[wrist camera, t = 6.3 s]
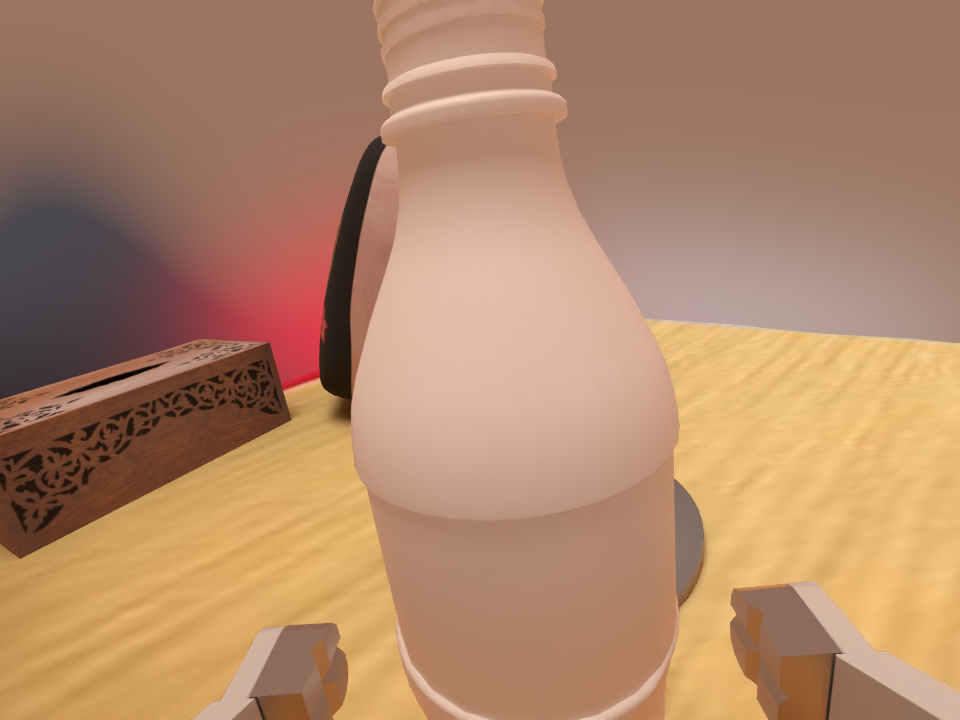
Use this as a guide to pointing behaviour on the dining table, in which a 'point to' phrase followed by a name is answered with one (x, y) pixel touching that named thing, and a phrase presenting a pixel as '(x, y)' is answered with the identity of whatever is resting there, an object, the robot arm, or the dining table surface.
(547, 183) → the water bottle
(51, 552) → the dining table surface
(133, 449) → the tissue box cover
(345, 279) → the packaged food
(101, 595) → the dining table surface
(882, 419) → the dining table surface
